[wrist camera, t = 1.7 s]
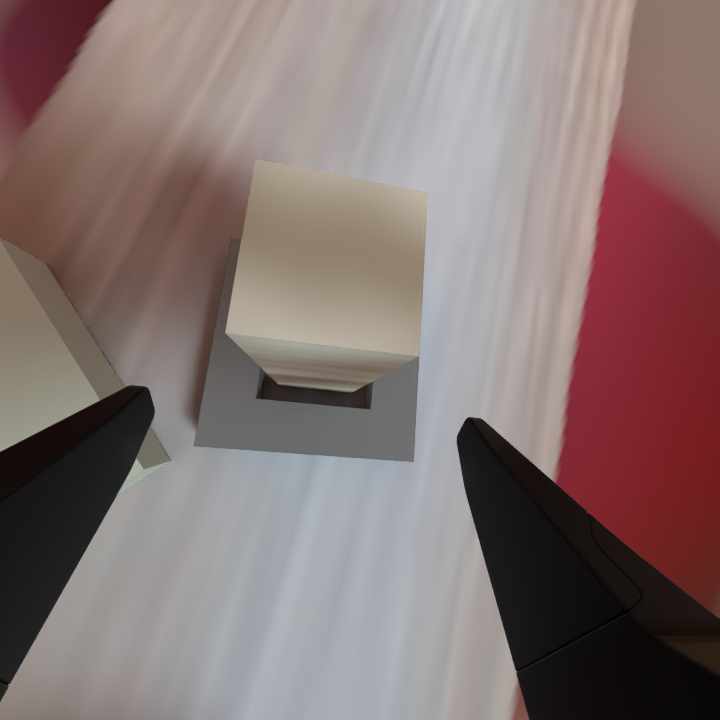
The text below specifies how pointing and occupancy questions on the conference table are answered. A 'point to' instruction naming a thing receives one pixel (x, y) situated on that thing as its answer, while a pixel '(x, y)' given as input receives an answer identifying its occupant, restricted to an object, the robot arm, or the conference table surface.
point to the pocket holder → (299, 406)
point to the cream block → (328, 277)
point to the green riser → (50, 359)
